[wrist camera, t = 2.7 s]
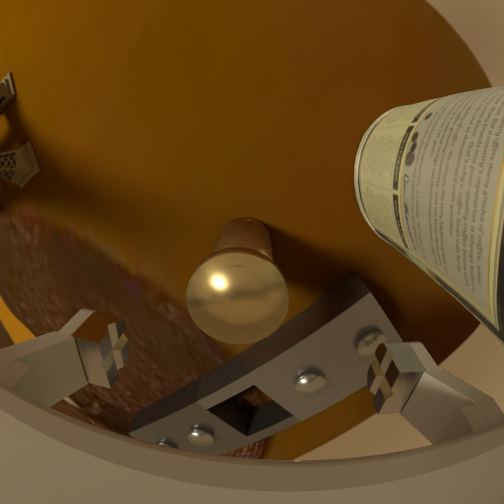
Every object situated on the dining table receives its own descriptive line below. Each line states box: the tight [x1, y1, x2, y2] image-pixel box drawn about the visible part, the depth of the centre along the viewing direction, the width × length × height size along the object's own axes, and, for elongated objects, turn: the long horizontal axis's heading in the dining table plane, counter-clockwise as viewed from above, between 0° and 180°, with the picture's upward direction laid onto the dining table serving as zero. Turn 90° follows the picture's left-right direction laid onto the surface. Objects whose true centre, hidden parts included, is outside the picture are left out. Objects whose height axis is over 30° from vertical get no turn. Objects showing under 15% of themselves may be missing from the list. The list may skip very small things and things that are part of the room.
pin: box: [186, 217, 289, 344], centre depth 15 cm, size 4×4×8 cm
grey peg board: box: [128, 273, 404, 455], centre depth 21 cm, size 25×7×4 cm, turn 130°
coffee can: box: [354, 86, 504, 345], centre depth 10 cm, size 10×10×14 cm
